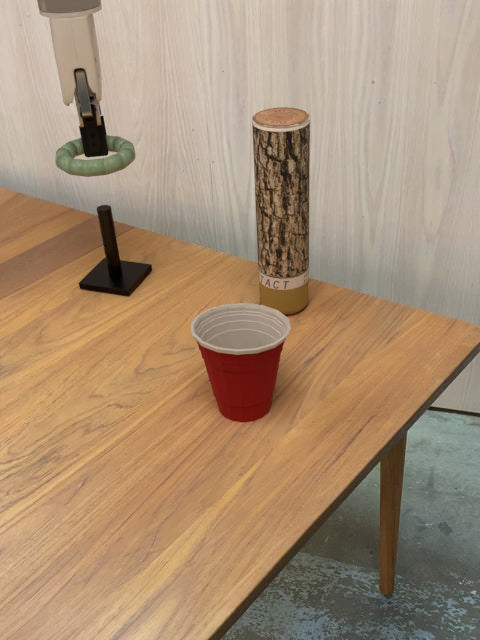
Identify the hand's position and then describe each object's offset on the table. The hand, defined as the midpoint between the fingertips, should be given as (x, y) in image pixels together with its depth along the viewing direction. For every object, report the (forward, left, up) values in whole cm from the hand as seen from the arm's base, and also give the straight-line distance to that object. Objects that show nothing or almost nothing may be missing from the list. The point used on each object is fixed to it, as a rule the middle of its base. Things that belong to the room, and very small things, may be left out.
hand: (96, 150), depth 106 cm
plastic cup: (+31, -28, -17) cm, 45 cm away
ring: (+2, -4, +1) cm, 4 cm away
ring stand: (+2, -4, -17) cm, 18 cm away
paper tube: (+28, -4, -17) cm, 33 cm away
